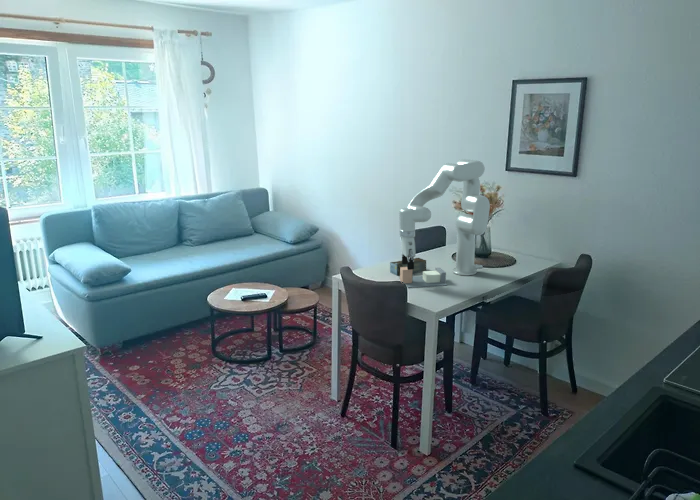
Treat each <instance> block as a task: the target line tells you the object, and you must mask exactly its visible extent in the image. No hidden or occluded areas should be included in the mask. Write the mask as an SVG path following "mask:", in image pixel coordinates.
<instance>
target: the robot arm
mask: <svg viewBox="0 0 700 500" xmlns="http://www.w3.org/2000/svg"><path fill="white" fill-rule="evenodd" d="M484 173H485V165H484V163H483V162H482V161H481V160H476V159H475V160H474V159H466V158H464V159H463V158H462V159H459V160H457V161H456V162H455V163H449V162H447V163H444V164H443V165H442V166H441V167H440V169H439V170H438V172H436V174H435V176H434V177H433V179H432V180H431V182H430V183H429V184H428V186H427V187H424V188H423V189H421V191H420V192H418V193H417V194H416V195H414V197H412V199H411V200H410V202H409V203H408V205H407V207H404V208H400V209H399V213H398V214H399V238H400V240H401V242H400V245H401V246H400V248H401V249H400V251H401V261H402V264H407V269H408V270H412V269H414V258H416V255H417V253H416V242H415V237H416V223H425V222H428V221H429V220H431V217H432V211H431V209H429V208H428V207H426V206H425V204H427V203H428V202H430V201H432V200H435V199H438V198H441V197H443V196H444V195H445V193H446V192H447V190H448V188H449V187H450V185H451V184H452V183H453V182H457V183H459V182H460V183H461V182H462V185H463V187H462V192H461V193H462V195H461V201H460V202H461V203H460V204H461V205H460V207H461V209H462V210H463V211H465V212H469V213H461V214H460V215H459V216H457V217H456V220H455V230H456V252H455V253H456V255H455V268H453V269H452V273H453V274H455V275H459V276H474V275H476V274H477V272H478V271H477V270H482V269H483V268H484V267H483V265H481V264H475V255H476V253H475V251H476V236H482V235H483V234H484V233H485V232H486V231H487V228H488V222H489V215H490V210H491V209H490V208H491V204H490V200H489V198H488V197H486V196H485V195H481V193H480V190H481V181H480V177H482V176H483V175H484ZM471 213H473V214H471Z"/></svg>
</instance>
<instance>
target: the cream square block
mask: <svg viewBox="0 0 700 500" xmlns="http://www.w3.org/2000/svg"><path fill="white" fill-rule="evenodd" d="M422 276H423V280H424V281H425V282H426V283H433V282H441V283H444V282H445V283H446V282H447V281H446V279H447V272H446V271H445V270H444V269H443V268H442V267H435V270H426V271H422Z"/></svg>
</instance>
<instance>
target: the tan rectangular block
mask: <svg viewBox="0 0 700 500" xmlns="http://www.w3.org/2000/svg"><path fill="white" fill-rule="evenodd" d="M413 274H414V273H413V269H412V270H408V269H407V267H400V275H399V281H400V282H401V281H402V282H404V283H412V279H413V277H414V275H413ZM402 282H401V283H402ZM404 283H403V284H404Z"/></svg>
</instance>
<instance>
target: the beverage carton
mask: <svg viewBox="0 0 700 500" xmlns="http://www.w3.org/2000/svg"><path fill="white" fill-rule="evenodd" d="M400 267H407V264H402V260H398V261H391V262H389V271H390V273H391V274H393V275H394V276H399V277H400ZM423 271H427V260H426V259H423V258H421V257H414V269H413V274H415V273H416V274H417V273H421V272H422V273H423Z"/></svg>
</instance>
